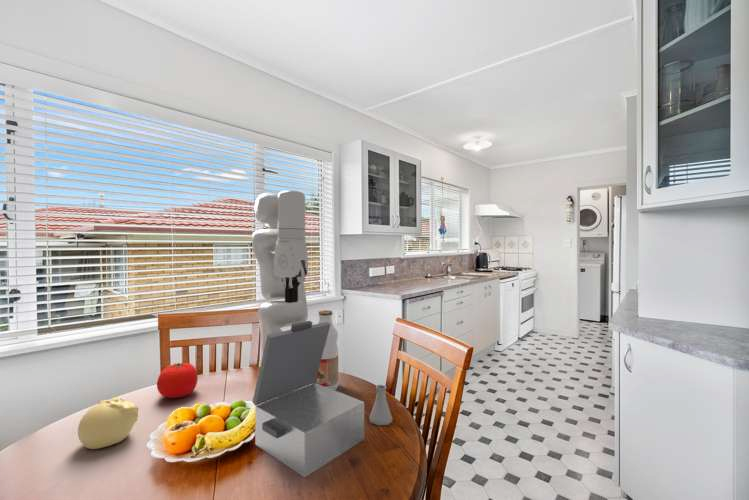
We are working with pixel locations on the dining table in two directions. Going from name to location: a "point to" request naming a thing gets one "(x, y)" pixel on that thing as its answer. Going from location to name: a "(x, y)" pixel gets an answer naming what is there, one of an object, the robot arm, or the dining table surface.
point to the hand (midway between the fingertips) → (291, 301)
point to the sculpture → (107, 423)
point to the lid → (290, 360)
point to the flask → (380, 408)
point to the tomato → (177, 380)
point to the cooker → (309, 427)
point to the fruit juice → (328, 356)
